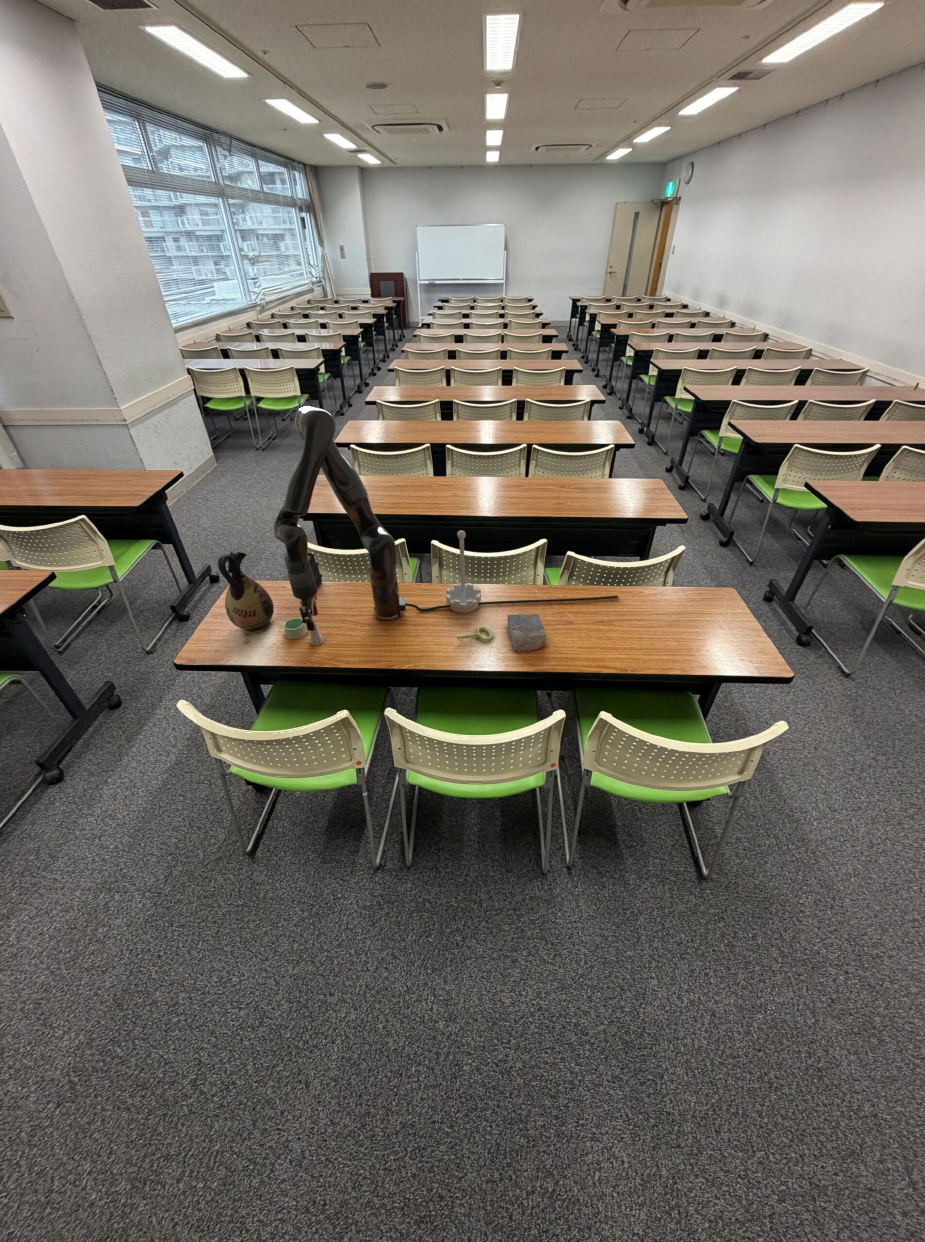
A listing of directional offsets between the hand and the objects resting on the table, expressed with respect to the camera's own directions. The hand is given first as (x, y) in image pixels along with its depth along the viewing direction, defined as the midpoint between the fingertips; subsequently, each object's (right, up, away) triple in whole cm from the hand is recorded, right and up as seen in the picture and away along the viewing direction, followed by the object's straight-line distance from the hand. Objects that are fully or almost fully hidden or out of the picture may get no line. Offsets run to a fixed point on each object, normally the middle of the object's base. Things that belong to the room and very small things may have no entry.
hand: (313, 622), depth 170 cm
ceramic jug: (-25, -2, +13) cm, 28 cm away
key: (+54, -5, +4) cm, 55 cm away
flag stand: (+50, +7, +21) cm, 55 cm away
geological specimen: (+71, -5, +4) cm, 72 cm away
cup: (-9, -4, +9) cm, 13 cm away
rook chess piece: (0, -7, +5) cm, 8 cm away
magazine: (-9, +12, +32) cm, 36 cm away
